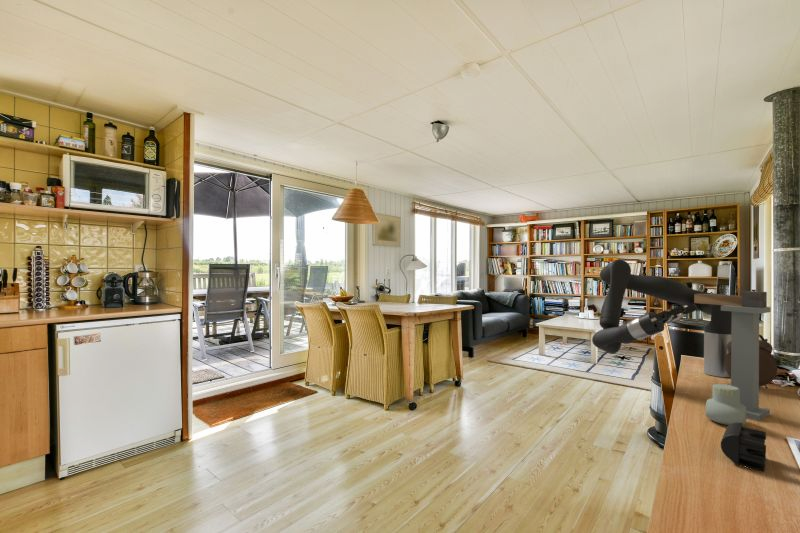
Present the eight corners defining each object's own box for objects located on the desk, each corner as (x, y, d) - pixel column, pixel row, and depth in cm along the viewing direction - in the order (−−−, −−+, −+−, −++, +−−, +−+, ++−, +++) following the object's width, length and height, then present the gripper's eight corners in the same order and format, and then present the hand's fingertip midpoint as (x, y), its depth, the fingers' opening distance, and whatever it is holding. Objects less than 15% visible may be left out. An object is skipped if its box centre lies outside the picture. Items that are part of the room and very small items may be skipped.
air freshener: (744, 432, 101) (744, 394, 101) (704, 423, 107) (704, 387, 107) (746, 421, 109) (746, 385, 109) (709, 413, 115) (709, 379, 115)
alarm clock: (762, 385, 145) (762, 331, 145) (779, 391, 137) (779, 335, 137) (720, 383, 146) (720, 330, 146) (735, 389, 139) (735, 333, 139)
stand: (731, 405, 122) (732, 304, 122) (769, 414, 114) (770, 307, 114) (719, 410, 117) (720, 305, 117) (758, 420, 109) (759, 308, 110)
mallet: (700, 302, 128) (700, 289, 128) (766, 307, 114) (766, 291, 114) (692, 303, 125) (692, 289, 125) (759, 307, 111) (759, 292, 111)
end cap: (725, 447, 93) (725, 419, 93) (765, 457, 88) (766, 428, 88) (720, 461, 86) (720, 431, 86) (764, 473, 81) (764, 441, 81)
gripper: (629, 317, 138) (673, 297, 126) (649, 315, 145) (693, 296, 133) (640, 337, 134) (687, 318, 122) (660, 334, 142) (706, 316, 130)
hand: (690, 307), depth 128 cm, fingers open, 8 cm apart
